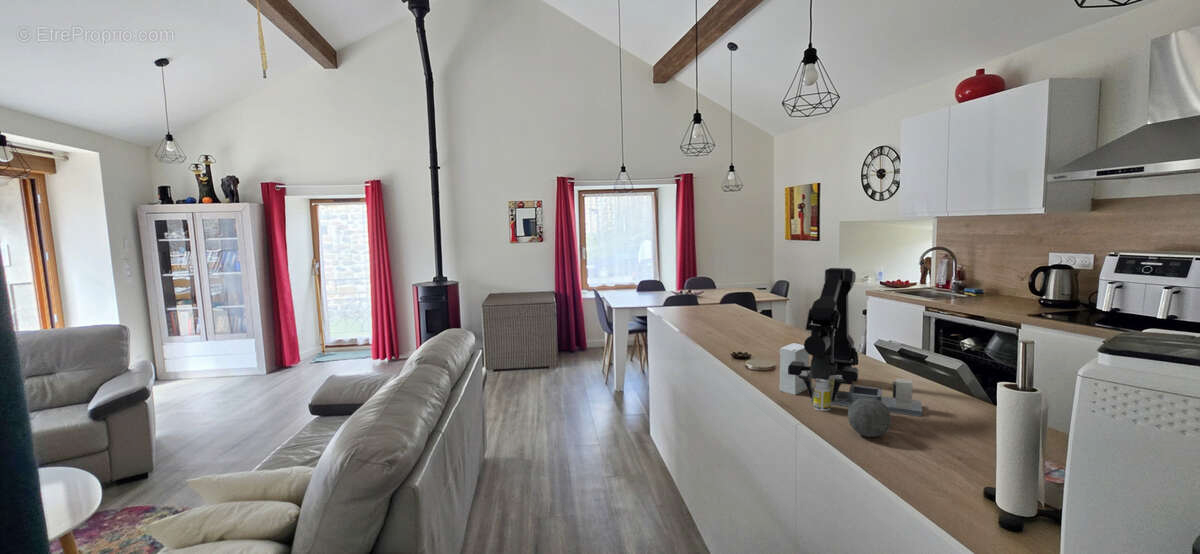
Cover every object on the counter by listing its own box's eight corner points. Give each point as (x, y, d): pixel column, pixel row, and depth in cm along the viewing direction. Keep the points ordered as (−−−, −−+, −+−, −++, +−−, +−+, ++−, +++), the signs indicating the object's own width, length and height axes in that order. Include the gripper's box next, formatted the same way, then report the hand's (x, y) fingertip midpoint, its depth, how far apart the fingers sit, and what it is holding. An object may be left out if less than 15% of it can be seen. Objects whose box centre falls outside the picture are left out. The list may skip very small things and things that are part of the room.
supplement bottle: (831, 406, 157) (831, 379, 156) (830, 412, 153) (831, 384, 152) (813, 404, 159) (814, 377, 158) (812, 410, 155) (813, 382, 154)
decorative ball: (878, 447, 130) (879, 408, 129) (839, 434, 138) (840, 397, 137) (897, 436, 136) (899, 399, 135) (859, 424, 144) (860, 389, 143)
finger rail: (815, 392, 170) (815, 366, 168) (920, 406, 155) (921, 378, 154) (811, 401, 162) (811, 374, 161) (921, 416, 148) (923, 387, 146)
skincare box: (792, 385, 177) (793, 342, 175) (809, 389, 173) (810, 345, 171) (778, 391, 172) (779, 347, 170) (795, 395, 167) (796, 350, 166)
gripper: (784, 351, 152) (784, 403, 153) (856, 358, 142) (855, 413, 144) (791, 342, 161) (791, 391, 163) (859, 348, 152) (857, 400, 154)
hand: (822, 399), depth 156 cm, fingers open, 6 cm apart
